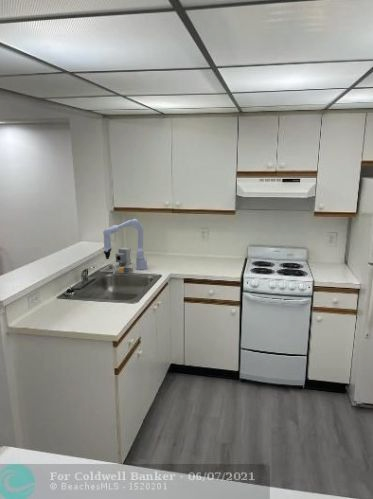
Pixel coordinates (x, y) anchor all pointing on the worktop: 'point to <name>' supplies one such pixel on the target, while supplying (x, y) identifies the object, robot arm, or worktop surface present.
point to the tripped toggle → (121, 269)
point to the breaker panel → (126, 271)
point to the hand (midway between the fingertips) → (107, 257)
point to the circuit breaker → (123, 256)
